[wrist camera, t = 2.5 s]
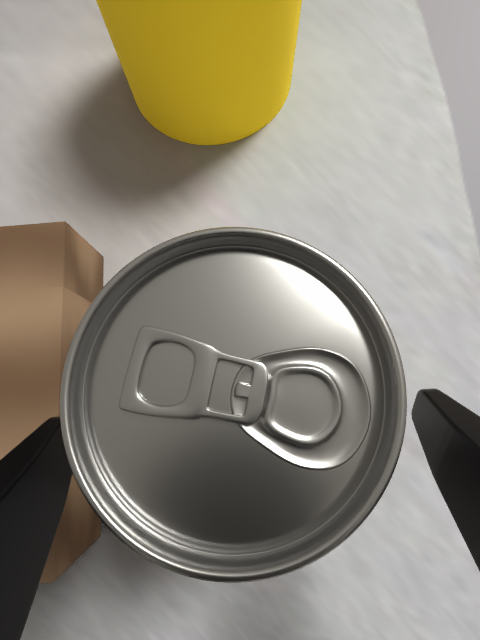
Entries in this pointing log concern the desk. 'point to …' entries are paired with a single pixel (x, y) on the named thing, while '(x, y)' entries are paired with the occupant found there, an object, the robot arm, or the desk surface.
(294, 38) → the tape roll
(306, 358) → the can
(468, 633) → the desk surface
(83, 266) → the bored block
